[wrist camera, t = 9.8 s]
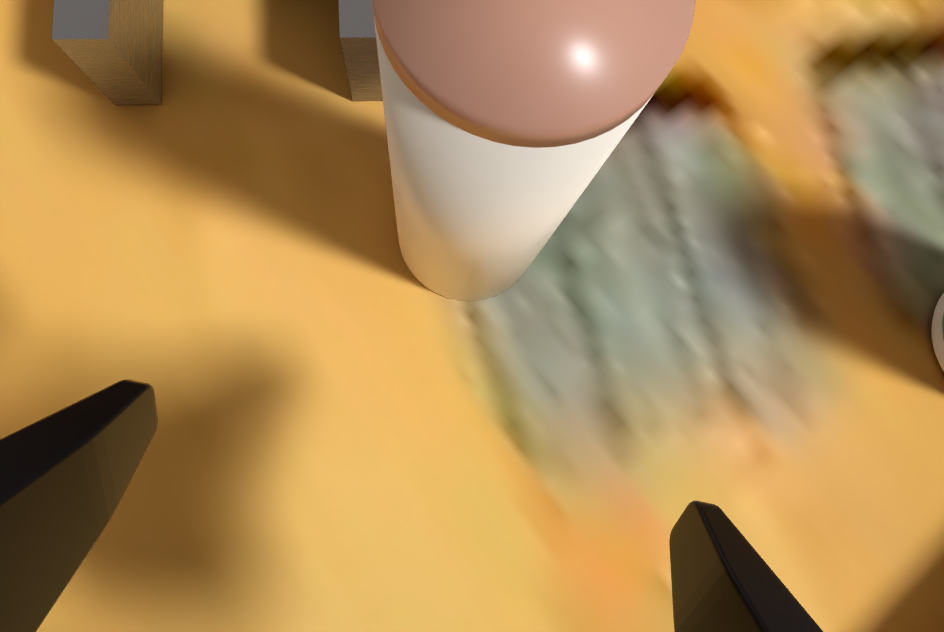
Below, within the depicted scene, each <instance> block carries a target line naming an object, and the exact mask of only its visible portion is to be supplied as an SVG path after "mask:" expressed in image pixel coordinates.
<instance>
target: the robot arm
mask: <svg viewBox="0 0 944 632" xmlns="http://www.w3.org/2000/svg"><path fill="white" fill-rule="evenodd" d="M157 422H158V419H157V411H156V402H155V394H154V389H153V387H152V386H151V385H149V384H147V383H143V382H138V381H133V380H122V381H119V382H117V383H115V384H113V385H111V386H109V387H107V388H105V389H103V390H101V391H99V392H97V393H95V394H93V395H90V396H88V397H86V398H84V399H82V400H80V401H78V402H76V403H74V404H72V405H70V406H68V407H66V408H64V409H62V410H60V411H58V412H56V413H53V414H51V415H49V416H47V417H45V418H43V419H41V420H39V421H37V422H35V423H33V424H31V425H29V426H27V427H25V428H23V429H21V430H19V431H16V432H14V433H12V434H10V435H8V436H6V437H4V438H2V439H0V632H36V631H37V629H38V628H39V626H40V625H41V623H42V622H43V620H44V619H45V617H46V616H47V614H48V613H49V611H50V610H51V608H52V607H53V605H54V604H55V602H56V601H57V599H58V598H59V596H60V595H61V593H62V592H63V590H64V589H65V587H66V586H67V584H68V583H69V581H70V580H71V578H72V577H73V575H74V574H75V572H76V571H77V569H78V568H79V566H80V565H81V563H82V562H83V560H84V559H85V557H86V555H87V554H88V552H89V551H90V549H91V548H92V546H93V545H94V543H95V542H96V540H97V539H98V537H99V536H100V534H101V533H102V531H103V530H104V528H105V527H106V525H107V523H108V522H109V520H110V518H111V517H112V515H113V513H114V511H115V509H116V508H117V506H118V504H119V502H120V500H121V498H122V496H123V494H124V492H125V490H126V488H127V486H128V485H129V483H130V481H131V479H132V477H133V475H134V473H135V471H136V469H137V467H138V465H139V463H140V461H141V459H142V458H143V456H144V454H145V452H146V450H147V448H148V446H149V444H150V442H151V440H152V438H153V436H154V434H155V431H156V428H157ZM670 561H671V580H672V598H673V617H674V629H675V632H823V631H822V630H821V628H820V627H819V626H818V625H817V624H816V622H815V621H814V620H813V619H812V618H811V616H810V615H809V614H808V613H807V612H806V610H805V609H804V608H803V607H802V606H801V604H800V603H799V602H798V601H797V600H796V598H795V597H794V596H793V595H792V594H791V592H790V591H789V590H788V589H787V588H786V586H785V585H784V584H783V583H782V582H781V580H780V579H779V578H778V577H777V576H776V574H775V573H774V572H773V571H772V570H771V569H770V567H769V566H768V565H767V564H766V563H765V561H764V560H763V559H762V558H761V557H760V555H759V554H758V553H757V552H756V551H755V549H754V548H753V547H752V546H751V545H750V543H749V542H748V541H747V540H746V539H745V537H744V536H743V535H742V534H741V533H740V531H739V530H738V529H737V528H736V527H735V525H734V524H733V523H732V522H731V521H730V519H729V518H728V517H727V516H726V515H725V513H724V512H723V511H722V510H721V509H720V508H719V507H718V506H716V505H714V504H710V503H705V502H700V501H692V502H691V503H689V505H688V506H687V507H686V509H685V510H684V512H683V513H682V515H681V516H680V518H679V519H678V521H677V522H676V524H675V525H674V527H673V529H672V531H671V535H670Z"/></svg>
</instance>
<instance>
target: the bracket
mask: <svg viewBox="0 0 944 632" xmlns="http://www.w3.org/2000/svg"><path fill="white" fill-rule="evenodd" d="M338 2H339V30H340V41H341V46H342V51H343V56H344V61H345V65H346V70H347V75H348V80H349V85H350V90H351V95H352V100H353V101H378V100H383V95H382V86H381V77H380V68H379V59H378V50H377V41H376V32H375V23H374V14H373V4H372V0H338ZM162 33H163V0H54V7H53V25H52V40H53V41H54V42H55V43H56V44H57V45H58V46H59V47H60V48H61V49H62V50H63V51H64V53H65V54H66V55H67V56H68V57H69V58H70V59H71V60H72V61H73V62H74V63H75V64H76V65H77V66H78V67H79V68H80V69H81V70H82V71H83V72H84V73H85V74H86V75H87V76H88V77H89V78H90V79H91V81H92V82H93V83H94V84H95V85H96V86H97V87H98V88H99V89H100V90H101V91H102V92H103V93H104V94H105V95H106V96H107V97H108V98H109V99H110V100H111V101H112V102H113V103H114V104H115V105H140V104H161V84H162Z"/></svg>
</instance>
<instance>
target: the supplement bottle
mask: <svg viewBox="0 0 944 632" xmlns="http://www.w3.org/2000/svg"><path fill="white" fill-rule="evenodd" d="M931 334H932V343H933V347H934V351H935V354H936V357H937V359H938V362H939V364H940V366H941V368H942V370H943V372H944V293H943V294H942V296H941V297H940V299H939V301H938V303H937V305H936V308H935V310H934V314H933V319H932V326H931Z"/></svg>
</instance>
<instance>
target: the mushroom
mask: <svg viewBox="0 0 944 632" xmlns="http://www.w3.org/2000/svg"><path fill="white" fill-rule="evenodd" d="M372 4H373V14H374V23H375V32H376V41H377V50H378V59H379V68H380V77H381V86H382V95H383V104H384V113H385V122H386V131H387V141H388V150H389V159H390V168H391V177H392V186H393V195H394V204H395V213H396V222H397V231H398V240H399V246H400V250H401V253H402V256H403V259H404V261H405V263H406V265H407V267H408V268H409V270H410V271H411V273H412V274H413V275H414V276H415V277H416V278H417V280H418V281H419V282H421V283H422V284H423V285H424V286H425V287H427V288H428V289H430V290H431V291H433V292H435V293H437V294H439V295H441V296H444V297H447V298H450V299H454V300H459V301H478V300H484V299H488V298H491V297H494V296H496V295H498V294H500V293H502V292H504V291H506V290H507V289H509V288H510V287H511V286H513V285H514V284H515V283H516V282H517V281H518V280H519V279H520V278H521V276H522V275H523V274H524V273H525V271H526V270H527V269H528V267H529V266H530V264H531V263H532V262H533V260H534V259H535V257H536V256H537V255H538V253H539V252H540V251H541V249H542V248H543V246H544V245H545V244H546V242H547V241H548V240H549V238H550V237H551V235H552V234H553V233H554V231H555V230H556V228H557V227H558V226H559V224H560V223H561V222H562V220H563V219H564V217H565V216H566V215H567V213H568V212H569V210H570V209H571V208H572V206H573V205H574V204H575V202H576V201H577V199H578V198H579V197H580V195H581V194H582V193H583V191H584V190H585V188H586V187H587V186H588V184H589V183H590V181H591V180H592V179H593V177H594V176H595V175H596V173H597V172H598V170H599V169H600V168H601V166H602V165H603V163H604V162H605V161H606V159H607V158H608V157H609V155H610V154H611V152H612V151H613V150H614V148H615V147H616V146H617V144H618V143H619V141H620V140H621V139H622V137H623V136H624V134H625V133H626V132H627V130H628V129H629V128H630V126H631V125H632V123H633V122H634V121H635V119H636V118H637V117H638V115H639V114H640V112H641V111H642V110H643V108H644V107H645V105H646V104H647V103H648V101H649V100H650V99H651V97H652V96H653V94H654V93H655V92H656V90H657V89H658V87H659V86H660V85H661V83H662V82H663V81H664V79H665V78H666V76H667V75H668V74H669V72H670V71H671V69H672V68H673V66H674V65H675V63H676V61H677V60H678V58H679V57H680V55H681V53H682V51H683V49H684V46H685V44H686V42H687V40H688V37H689V33H690V30H691V26H692V22H693V17H694V9H695V0H372Z"/></svg>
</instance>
